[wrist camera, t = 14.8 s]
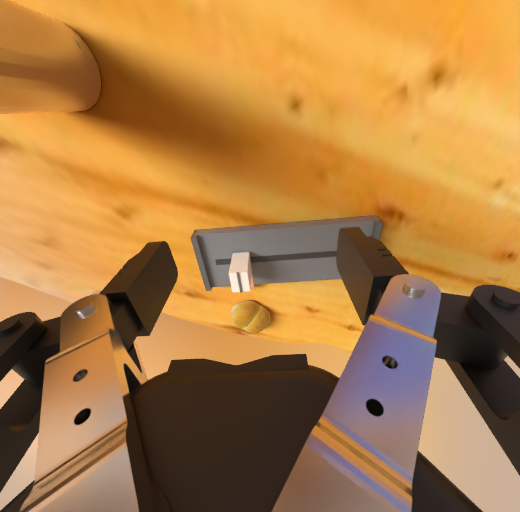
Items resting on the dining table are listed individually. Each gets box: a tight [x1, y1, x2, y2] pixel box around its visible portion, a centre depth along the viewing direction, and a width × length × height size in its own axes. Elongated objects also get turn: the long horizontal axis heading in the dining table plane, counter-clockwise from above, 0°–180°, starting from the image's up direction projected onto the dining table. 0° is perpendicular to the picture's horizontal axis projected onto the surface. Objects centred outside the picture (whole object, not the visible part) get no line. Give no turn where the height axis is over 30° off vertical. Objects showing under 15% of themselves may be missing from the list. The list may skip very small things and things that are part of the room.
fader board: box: [191, 215, 383, 291], centre depth 43 cm, size 32×13×3 cm, turn 95°
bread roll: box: [231, 300, 271, 333], centre depth 52 cm, size 8×9×4 cm
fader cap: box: [229, 252, 252, 293], centre depth 40 cm, size 3×4×6 cm
